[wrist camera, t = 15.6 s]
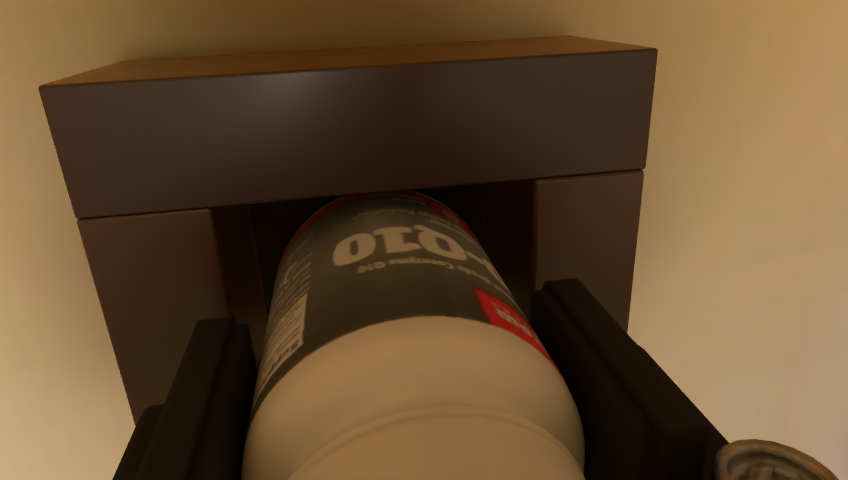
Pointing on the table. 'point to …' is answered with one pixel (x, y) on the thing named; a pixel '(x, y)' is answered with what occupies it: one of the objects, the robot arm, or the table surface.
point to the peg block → (344, 169)
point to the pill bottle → (403, 357)
